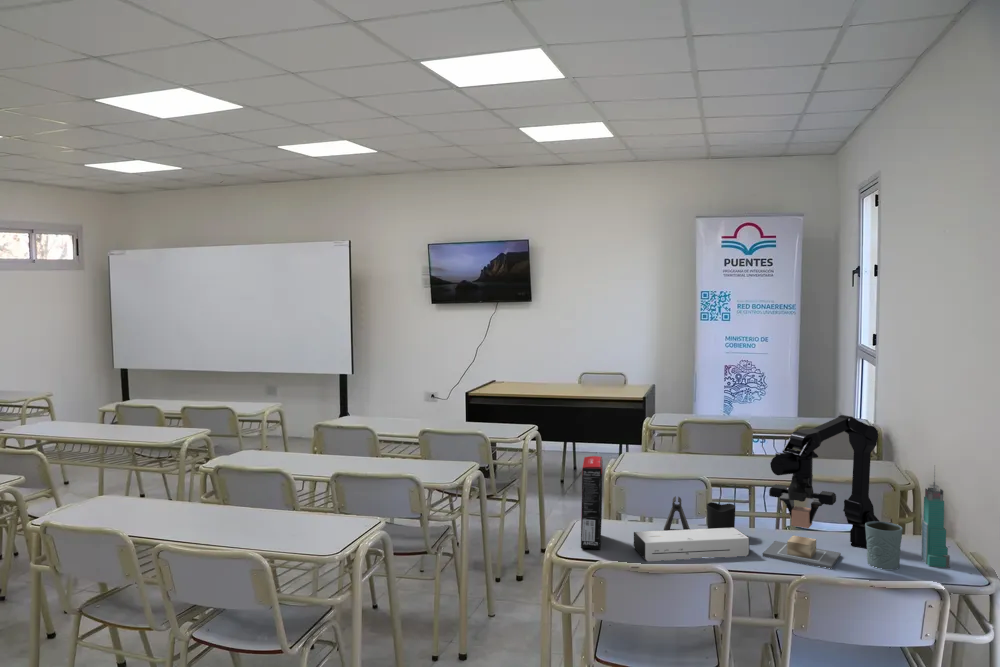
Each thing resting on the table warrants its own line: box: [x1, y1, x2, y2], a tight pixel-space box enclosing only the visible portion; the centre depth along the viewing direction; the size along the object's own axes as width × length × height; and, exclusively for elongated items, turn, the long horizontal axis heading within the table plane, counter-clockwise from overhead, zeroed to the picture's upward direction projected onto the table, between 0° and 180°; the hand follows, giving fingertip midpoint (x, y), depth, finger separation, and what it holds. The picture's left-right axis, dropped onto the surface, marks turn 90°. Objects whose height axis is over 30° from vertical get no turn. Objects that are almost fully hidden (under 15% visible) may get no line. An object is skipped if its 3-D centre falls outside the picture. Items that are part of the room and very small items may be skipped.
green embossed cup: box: [865, 520, 903, 570], centre depth 223 cm, size 10×10×12 cm
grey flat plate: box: [762, 540, 842, 570], centre depth 231 cm, size 20×14×1 cm
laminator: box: [633, 527, 750, 562], centre depth 235 cm, size 34×12×6 cm, turn 97°
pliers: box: [663, 496, 691, 531], centre depth 255 cm, size 9×6×12 cm, turn 75°
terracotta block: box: [791, 505, 813, 529], centre depth 231 cm, size 5×5×5 cm
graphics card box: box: [580, 455, 604, 550], centre depth 245 cm, size 17×7×27 cm, turn 172°
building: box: [921, 466, 951, 568], centre depth 223 cm, size 6×6×30 cm
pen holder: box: [706, 501, 736, 529], centre depth 253 cm, size 9×9×10 cm
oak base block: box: [786, 535, 817, 558], centre depth 231 cm, size 7×7×4 cm
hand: (801, 521), depth 231 cm, fingers closed on terracotta block, 5 cm apart
